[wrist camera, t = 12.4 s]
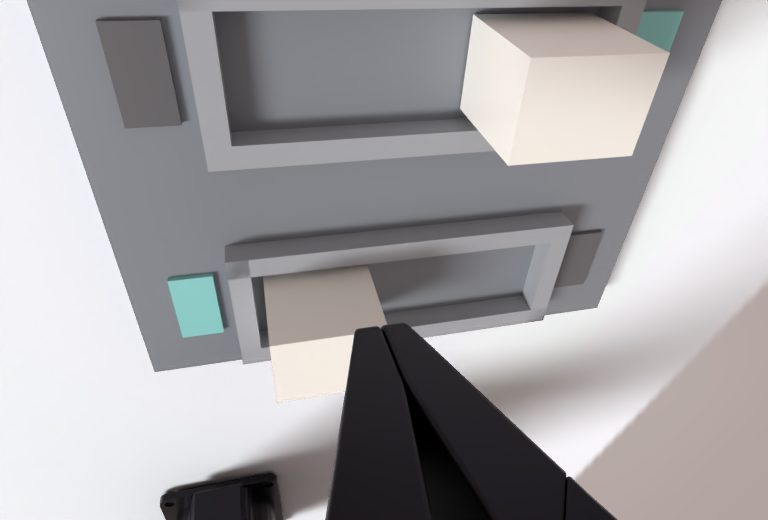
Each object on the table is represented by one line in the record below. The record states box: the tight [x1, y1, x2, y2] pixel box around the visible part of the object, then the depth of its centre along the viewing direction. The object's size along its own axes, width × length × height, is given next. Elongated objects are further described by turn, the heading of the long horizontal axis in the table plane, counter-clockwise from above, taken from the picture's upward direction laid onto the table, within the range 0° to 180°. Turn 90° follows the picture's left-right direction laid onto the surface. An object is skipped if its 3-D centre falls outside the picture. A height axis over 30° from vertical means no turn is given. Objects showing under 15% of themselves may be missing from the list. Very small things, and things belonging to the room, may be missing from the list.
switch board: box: [27, 0, 722, 372], centre depth 20 cm, size 16×21×2 cm
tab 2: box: [460, 12, 670, 166], centre depth 16 cm, size 3×4×4 cm
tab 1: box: [263, 264, 387, 403], centre depth 20 cm, size 3×4×4 cm
